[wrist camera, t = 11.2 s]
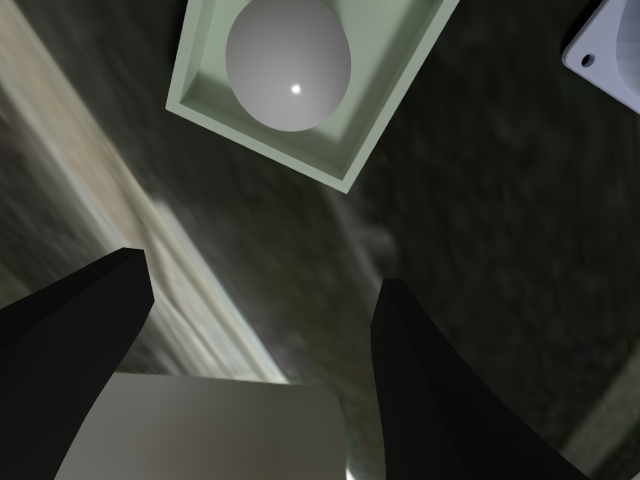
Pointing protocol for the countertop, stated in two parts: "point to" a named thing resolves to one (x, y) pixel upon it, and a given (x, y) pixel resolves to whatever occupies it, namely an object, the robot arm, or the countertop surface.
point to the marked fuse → (288, 62)
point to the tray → (357, 105)
